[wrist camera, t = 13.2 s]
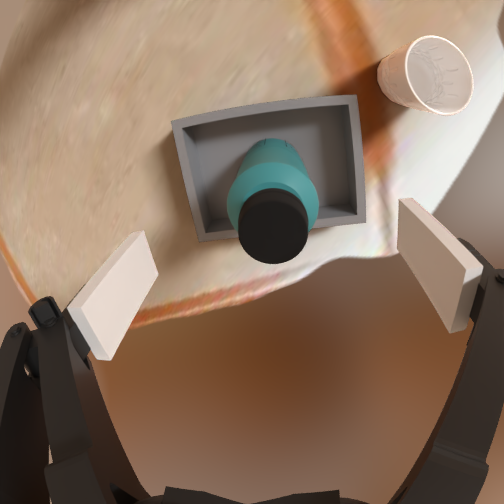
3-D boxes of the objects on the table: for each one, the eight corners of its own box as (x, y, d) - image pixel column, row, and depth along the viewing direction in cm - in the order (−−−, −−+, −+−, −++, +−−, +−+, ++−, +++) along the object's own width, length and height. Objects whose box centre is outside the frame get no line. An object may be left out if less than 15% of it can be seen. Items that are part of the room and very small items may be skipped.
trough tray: (184, 118, 33) (170, 121, 29) (345, 95, 31) (356, 94, 26) (207, 225, 39) (199, 242, 35) (355, 207, 37) (366, 222, 32)
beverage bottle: (238, 140, 33) (195, 190, 16) (296, 130, 32) (324, 166, 14) (250, 194, 36) (226, 293, 18) (306, 184, 35) (337, 277, 17)
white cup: (437, 100, 29) (482, 105, 20) (387, 118, 31) (423, 125, 22) (413, 43, 26) (454, 30, 17) (360, 58, 28) (390, 44, 19)
